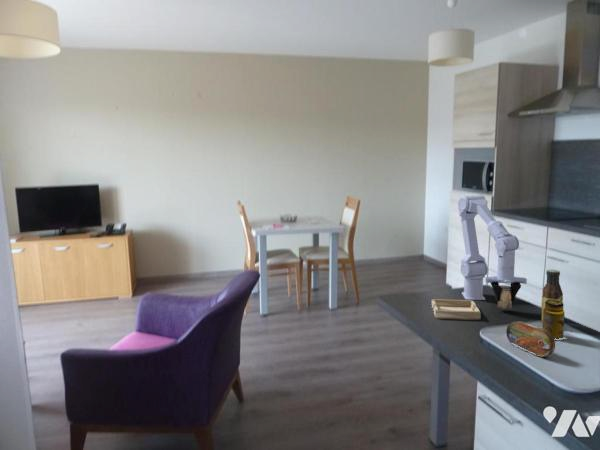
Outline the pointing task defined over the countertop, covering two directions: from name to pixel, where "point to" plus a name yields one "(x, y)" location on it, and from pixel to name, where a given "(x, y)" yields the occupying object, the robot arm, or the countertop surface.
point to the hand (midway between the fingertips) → (504, 300)
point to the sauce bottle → (552, 288)
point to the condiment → (554, 318)
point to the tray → (455, 309)
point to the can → (505, 297)
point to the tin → (531, 338)
